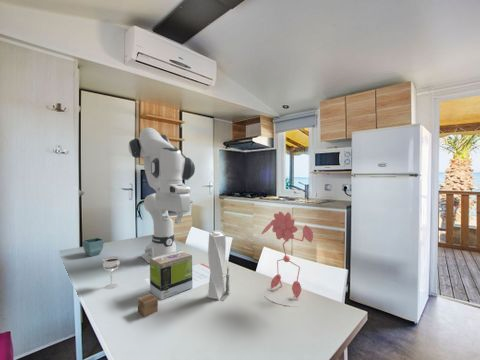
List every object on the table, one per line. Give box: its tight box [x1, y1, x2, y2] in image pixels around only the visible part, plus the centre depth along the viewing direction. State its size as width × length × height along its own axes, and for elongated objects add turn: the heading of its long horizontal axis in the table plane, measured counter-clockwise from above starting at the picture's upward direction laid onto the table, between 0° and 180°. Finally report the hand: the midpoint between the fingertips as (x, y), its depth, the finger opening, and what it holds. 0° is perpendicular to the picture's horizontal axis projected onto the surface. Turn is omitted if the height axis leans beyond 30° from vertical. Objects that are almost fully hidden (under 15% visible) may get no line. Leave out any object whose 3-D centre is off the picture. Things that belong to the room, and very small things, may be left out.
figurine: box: [261, 211, 314, 307], centre depth 100 cm, size 15×26×35 cm, turn 45°
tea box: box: [149, 250, 193, 300], centre depth 104 cm, size 15×10×15 cm, turn 134°
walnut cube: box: [137, 293, 159, 318], centre depth 87 cm, size 5×5×5 cm
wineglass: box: [102, 256, 121, 290], centre depth 106 cm, size 7×7×12 cm
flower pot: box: [82, 237, 105, 257], centre depth 147 cm, size 9×9×9 cm
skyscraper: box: [207, 230, 231, 302], centre depth 99 cm, size 8×8×28 cm
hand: (171, 221), depth 98 cm, fingers open, 8 cm apart
